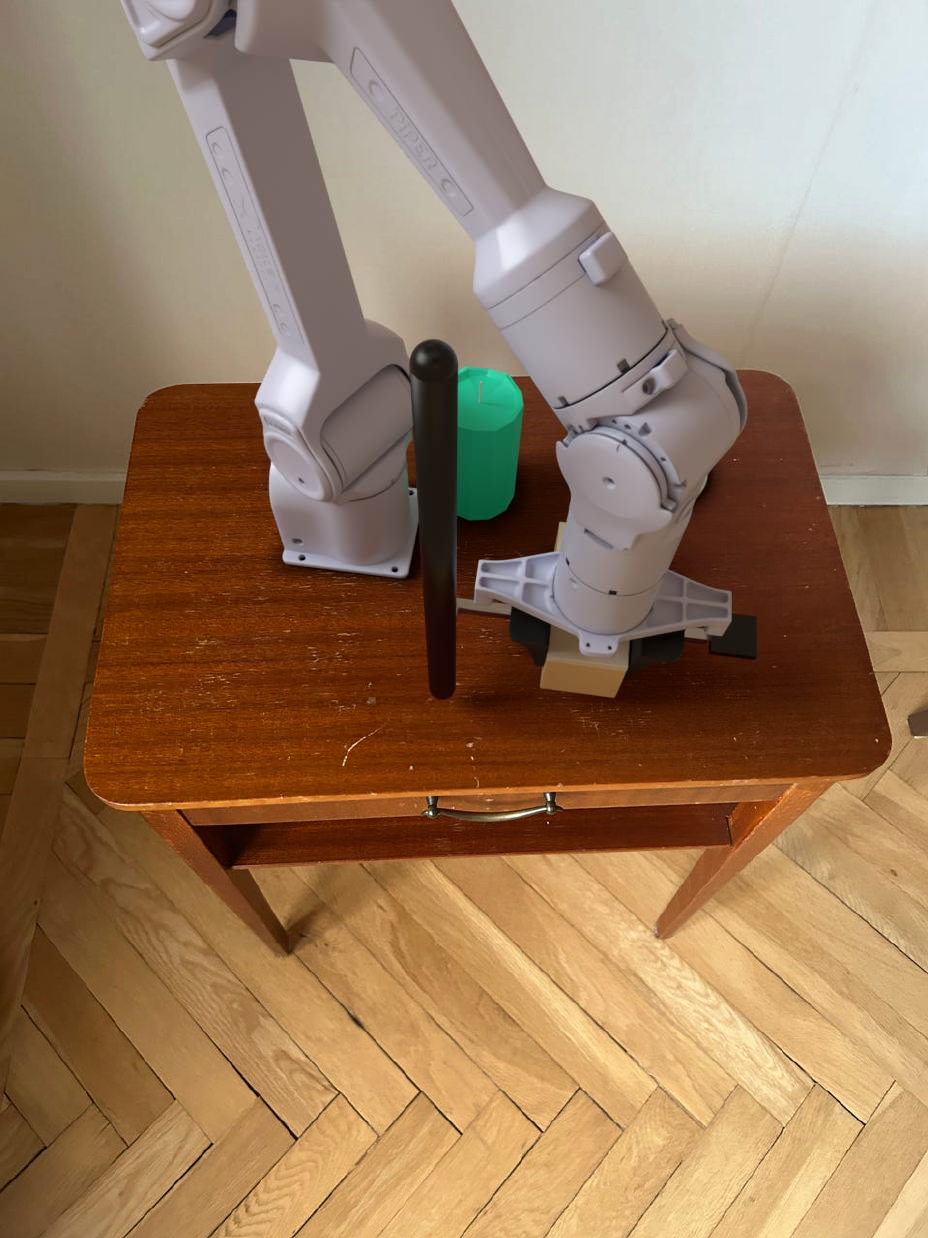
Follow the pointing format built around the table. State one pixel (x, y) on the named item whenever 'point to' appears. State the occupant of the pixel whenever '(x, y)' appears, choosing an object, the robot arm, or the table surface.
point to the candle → (487, 441)
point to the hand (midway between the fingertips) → (581, 657)
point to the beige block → (582, 667)
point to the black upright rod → (438, 523)
